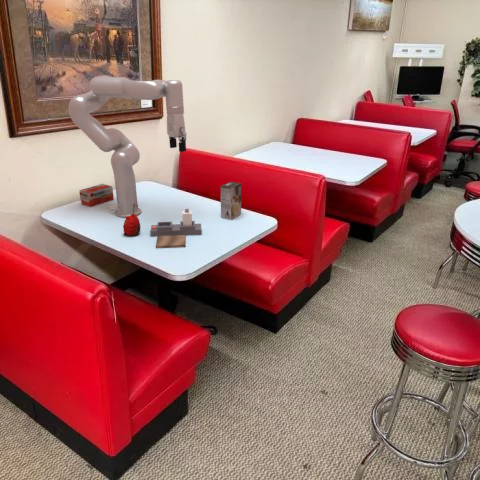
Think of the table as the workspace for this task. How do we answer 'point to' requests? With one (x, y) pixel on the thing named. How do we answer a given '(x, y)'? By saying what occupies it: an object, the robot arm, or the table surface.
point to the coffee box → (230, 200)
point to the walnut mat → (171, 241)
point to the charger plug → (187, 217)
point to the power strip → (175, 229)
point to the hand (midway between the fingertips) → (178, 149)
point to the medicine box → (96, 195)
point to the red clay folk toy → (131, 224)
